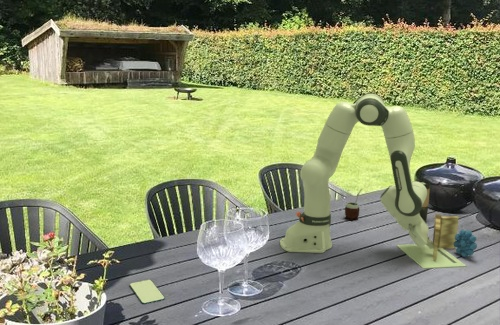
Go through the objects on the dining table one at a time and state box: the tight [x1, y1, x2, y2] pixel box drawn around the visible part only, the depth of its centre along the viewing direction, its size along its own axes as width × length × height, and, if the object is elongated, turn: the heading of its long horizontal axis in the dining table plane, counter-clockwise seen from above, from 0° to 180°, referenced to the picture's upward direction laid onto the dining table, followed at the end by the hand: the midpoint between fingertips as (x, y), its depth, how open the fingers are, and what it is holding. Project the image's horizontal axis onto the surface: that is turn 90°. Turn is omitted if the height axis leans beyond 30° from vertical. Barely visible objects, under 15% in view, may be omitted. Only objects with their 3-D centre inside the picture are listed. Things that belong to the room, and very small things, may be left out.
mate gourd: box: [344, 188, 363, 222], centre depth 255 cm, size 8×8×15 cm
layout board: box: [396, 243, 467, 270], centre depth 211 cm, size 18×24×1 cm
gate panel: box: [433, 218, 440, 260], centre depth 209 cm, size 14×2×13 cm, turn 160°
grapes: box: [453, 229, 478, 258], centre depth 210 cm, size 12×7×12 cm, turn 22°
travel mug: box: [417, 180, 431, 224], centre depth 252 cm, size 8×8×20 cm
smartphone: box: [129, 279, 166, 305], centre depth 176 cm, size 8×1×16 cm
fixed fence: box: [432, 214, 460, 250], centre depth 218 cm, size 10×2×15 cm, turn 99°
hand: (432, 247), depth 210 cm, fingers closed, pressing on gate panel
